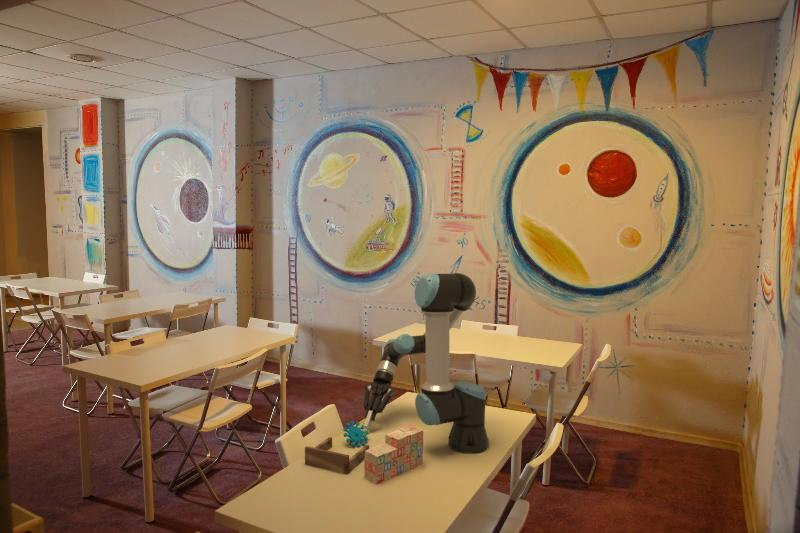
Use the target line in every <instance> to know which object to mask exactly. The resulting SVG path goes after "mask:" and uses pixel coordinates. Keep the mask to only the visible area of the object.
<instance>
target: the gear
mask: <svg viewBox="0 0 800 533" xmlns="http://www.w3.org/2000/svg"><path fill="white" fill-rule="evenodd" d="M354 424H355V425H354ZM360 424H361V422H359V421H356V422H355V420H350V422H347V423H345V426H344V428H342V429H343V431H344V433H343V438H346V437H347V438H346V440H345V441H346V443H350V442H351V441H353V442H351V443H350V445H351V446H352V447H354V446H355V445H356V447H357V448H360V447H361V446H365V445H366V441H367V440H369V437H368V436H367V435H368V434H369V433H370V429H366V428H365V427H364V425H362V426H361V427H359V426H360ZM365 429H366V430H365ZM356 442H357V444H356Z"/></svg>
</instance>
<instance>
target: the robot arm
mask: <svg viewBox="0 0 800 533" xmlns="http://www.w3.org/2000/svg"><path fill="white" fill-rule="evenodd" d="M476 297H477V289H476V285H475V283H474V281H473V279H472V278H470V277H469V276H468V275H466V274H464V273H459V272H453V273H429V274H424V275H422V276H421V277H419V278H418V281H417V282H416V284H415V287H414V300H415V303H416V305H417V306H418V307H420V311H421V313H422V314H423V315H424V317H425V319H424V320H425V321H424V322H425V332H424V333H423V334H422V335H410V334H407V333H403V334H400V335H399V336H397V337H396V338H391V339H388V340H387V342H386V345H384V349H383V353H382V355H381V359H380V361H379V365H378V366H377V369H376V372H375V374H374V378H373V381H372V382H371V384H370V385H365V386H364V400H363V409H364V410H365V411H366V412H365V415H364V419H365V421H364V423H363V426H364V427H365V428H364V429H366V430H370V428H371V426H372V423H373V422H374V421H375V420H376V417H377V414H382V413H383V411H384V410H385V408H386V407H387V405H388V403H389V402H390V400H391V399H392V397H393V396H394V395H395V392H394V390H393V389H392V387H391V386H392V384H393V381H394V380H393V379H394V377H395V374H396V371H397V368H398V365H399V362H400V360H401V359H402V358H404V356H411V355H420V354H425V382H424V383H422V385H421V392H419V393H417V394H416V397H415V400H414V404H415V410H416V413H417V416H418V418H419V419H420V421H421V422H422V423H423V424H424V425H426V426H439V425H443V424H448V423H452V427H451V429H450V431H449V435H448V438H447V441H448V442H447V444H448V446H449V447H450V448H451V449H452V450H455V451H456V452H460V453H465V454H478V453H477V452H479V453H483V452H485V451H487V450H488V449H489V447H488V446H489V444H490V443H489V442H490V441H489V437H488V434H487V429H486V427H485V425H486V423H485V421H486V401H487V395H486V389H485V388H484V386H481V385H480V384H477V383H474V382H469V381H456V382H455V383H454V385H453V384H452V383H451V382H450V378H451V377H450V376H451V375H450V374H451V373H450V365H451V364H450V331H451V329H452V327H453V326H454V325H455V323H457V321H458V319H459V318H460V317H461V315H462V314H463V313H464V312H466V311H468V310H469V309H471V307H472V305H473V304H474V302H475V300H476ZM371 392H372V393H371ZM487 448H488V449H487ZM486 449H487V450H486ZM484 450H485V451H484ZM482 451H483V452H482Z"/></svg>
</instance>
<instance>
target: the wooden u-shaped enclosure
mask: <svg viewBox="0 0 800 533" xmlns="http://www.w3.org/2000/svg"><path fill="white" fill-rule="evenodd" d="M332 447H333V437H331V436H330V437H327V438H326V439H325V440H323V441H322V442H321V443H319V444H317V445H316V446H315V447H313V446H307V445H306V446H305V447H304V465H305V466H311V467H315V468H319V469H324V470H327V471H331V472H337V473H340V474H345V475H348V474H350V472H352V471H353V470H354V469H355V468H356V467H357V466H359V465H360V464H361V462H363V461H365V451H366V450H368V449H370V444H364V445H363V447H362V448H360V450H358V451H357V452H356V453H355V454H353V455H352V456H351V457H350V455H349V454H344V453H340V452H336V451H330V449H331V448H332Z"/></svg>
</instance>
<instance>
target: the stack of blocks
mask: <svg viewBox="0 0 800 533" xmlns="http://www.w3.org/2000/svg"><path fill="white" fill-rule="evenodd" d="M384 438H385V440H384V443H382V444H379V445H377V446H374V447H371V448H369V449H368V450H366V451H365V459H364V462H363V463H364V465H363V466H364V472H363V473H364V478H365V479H367V480H368V481H370V482H372V483H374V484H375V485H378V484H379V483H382V482H384V481H387V480H389V479H392V478H394V477H396V476H398V475H401V474H403V473H405V472H408V471H409V470H413V469H415V468H417V467H419V466H421V465H423V463H424V462H423V461H424V460H423V457H424V456H423V454H424V453H423V450H424V430H423V429H421V428H418V427H416V426H412V425H407V426H404V427H402V428H398V429H396V430H394V431H392V432H391V431H390V432H388V433H386V434H385V436H384Z"/></svg>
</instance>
